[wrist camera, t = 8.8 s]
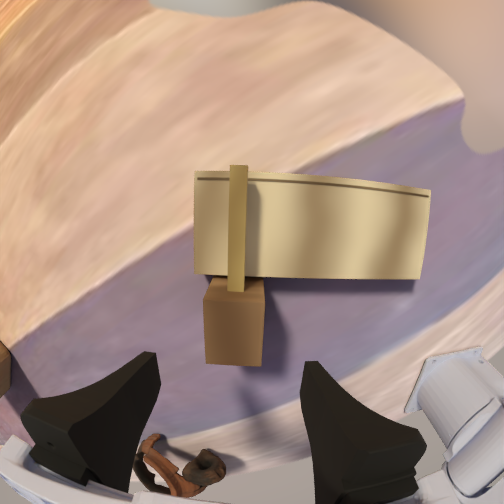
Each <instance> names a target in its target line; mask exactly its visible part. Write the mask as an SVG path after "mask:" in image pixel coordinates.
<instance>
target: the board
mask: <svg viewBox="0 0 504 504" xmlns="http://www.w3.org/2000/svg"><path fill="white" fill-rule="evenodd" d="M229 181H230V171H195V176H194V274H207V275H228V217H229ZM430 196H431V190H426V189H420V188H414V187H408V186H402V185H395V184H388V183H381V182H374V181H366V180H357V179H348V178H339V177H328V176H317V175H304V174H289V173H271V172H248V187H247V217H246V248H245V276H255V277H285V278H327V279H420V274H421V269H422V263H423V257H424V251H425V244H426V237H427V229H428V219H429V209H430Z"/></svg>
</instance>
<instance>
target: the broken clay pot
mask: <svg viewBox="0 0 504 504" xmlns="http://www.w3.org/2000/svg"><path fill="white" fill-rule="evenodd" d="M160 438H161V436H160V434H152V435H151V436H149V437H148V438H147V439H146V440H143V441H142V443H141V445H140V447H139V449H138V453H137V454H136V455H135V459H134V463H133V470H134V472H135V473H136V475H137V477H138V478H139V480H140V481H141V482H142V483H143V484H144V486H145V487H146V488H147V489H148V490H150V491H151V492H158V493H162V494H167V495H172V496H178V497H184V498H188V497H193V496H196V495H197V494H199V493H201V492H202V491H204V490H205V488H206V487H207V486H208V485H211V484H213V483H216V482H219V481H220V480H222V479H223V478H224V477H225V475H226V466H225V464H224V463H223V461H222V460H221V459H220V458H219V457H218V456H214V455H213V453H211V452H210V451H208V450H206V449H202V450H201V452H200V454H199V455H198V456H197V457H196V458H195V459H193V460H192V461H191V462H189V463H188V464H187V465H186V466H185V468H184V469H183V471H182V475H183V476H181V475H179V474H178V473H177V472H178V470H179V468H178V467H176V466H175V465H173V464H172V463H171V462H170V461H169V460H168V459H167V458H164V457H163V456H162V455H161V454H160V453H159V452H158V451H156V450H155V449H153V446H154V444H155V443H156V442H157V441H158V440H159V439H160ZM144 454H146V455H145V456H144ZM143 458H144V461H145V462H146V463H147V464H149V465H150V466H151V467H153V468H154V469H155V470H156V471H157V472H158V473H159V474H160V476H161V477H162V478H163V479H164V480H165V481H166V483H167V485H168V486H169V488H167V487H164V486H162V485H157V484H155V481H154V477H155V474H154V473H151V472H150V471H149V470H148V469H147V467H146V465H145V463H144V462H143Z"/></svg>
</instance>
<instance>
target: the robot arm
mask: <svg viewBox="0 0 504 504" xmlns="http://www.w3.org/2000/svg"><path fill="white" fill-rule="evenodd" d="M482 350H483V348H482V347H481V346H479V347H475V348H471V349H467V350H463V351H458V352H453V353H448V354H443V355H438V356H433V357H429V358H427V359H426V361H425V363H424V366H423V368H422V371H421V374H420V376H419V378H418V381H417V383H416V386H415V388H414V390H413V392H412V395H411V397H410V399H409V401H408V403H407V405H406V408H405V410H404V411H405V413H410V412H414V411H418V410H422V409H423V411H424V413H425V414H426V416H427V417H428V419H429V420H430V422H431V423H432V425H433V427H434V428H435V430H436V432H437V433H438V435H439V436H440V438H441V440H442V442H443V443H444V445H445V447H446V448H447V450H446V451H445V452H444V453H443V456H444V458H445V459H446V461H445V462H444V463H443V466H442V470H439V471H437V472H434V473H432V474H429V475H426V476H424V477H422V478H420V479H418V480H417V481H416V480H415V478H414V476H415V475H416V471H415V468H414V466H415V465H416V464H417V463H418V461H419V460H420V459H421V457H422V456H423V454H424V453H425V451H426V447H427V445H426V443H425V441H424V439H423V437H422V435H421V434H420V432H419V431H418V429H416V428H412V427H409V426H405V425H402V424H399V423H397V422H394V421H392V420H390V419H387V418H385V417H383V416H381V415H379V414H377V413H376V412H374V411H372V410H370V409H369V408H367V407H366V406H364V405H363V404H361V403H360V402H359V401H357V400H356V399H355V398H353V397H352V396H351V395H350V394H349V393H347V392H346V391H345V390H344V389H343V388H342V387H341V386H340V385H339V384H338V383H337V382H336V381H335V380H334V379H333V378H332V377H331V376H330V374H329V373H328V372H327V371H326V370H325V369H324V368H323V367H322V365H321V364H320V363H319V362H318V361H305V365H304V371H303V377H302V383H301V388H300V400H301V409H302V413H303V418H304V422H305V426H306V430H307V434H308V438H309V442H310V446H311V452H312V461H313V472H314V485H315V504H460V503H461V504H504V477H503V478H502V479H501V480H500V481H499V482H497V483H496V484H495V485H494V486H492V487H488V488H486V487H487V486H488V485H489V484H490V483H492V482H493V481H494V480H495V479H496V478H497V477H498V476H499V475H500V474H502V473H503V472H504V377H503V375H502V374H501V373H499V372H498V371H497V370H496V369H495V368H494V367H493V366H492V365H491V364H490V363H489V362H488V361H487V360H486V359H485V358H484V357H482V356H481V353H482ZM160 387H161V380H160V375H159V369H158V363H157V357H156V353H153V352H146V351H144V352H143V353H141V354H140V355H138V356H137V357H135V358H134V359H133V360H131V361H130V362H128V363H127V364H126V365H124V366H123V367H121V368H120V369H118V370H117V371H115V372H113V373H112V374H110V375H109V376H107V377H105V378H104V379H102V380H100V381H98V382H96V383H94V384H92V385H89V386H87V387H85V388H82V389H79V390H76V391H74V392H71V393H67V394H63V395H59V396H54V397H48V398H39V399H33V400H32V401H31V403H30V404H29V405H28V406H27V407H26V409H25V410H24V411H23V412H22V413H21V421H22V423H23V425H24V427H25V429H26V430H27V432H28V433H29V435H30V436H31V438H32V439H33V441H34V442H35V446H34V447H33V448H32V447H31V446H30V445H29V444H28V443H26V442H25V441H23V440H21V439H20V438H18V437H16V436H15V435H12V436H11V437H10V438H9V440H8V441H7V442H6V444H5V445H4V446H3V448H2V449H1V450H0V476H1V477H2V478H3V479H4V480H5V482H7V484H8V485H9V486H10V487H12V488H13V489H14V490H15V491H16V492H17V493H18V494H19V495H21V496H22V497H24V498H25V499H27V500H28V501H30V502H31V503H33V504H229V503H223V502H214V501H205V500H197V499H190V498H184V497H178V496H172V495H167V494H162V493H158V492H151V491H140V492H135V493H134V495H132V494H129V493H128V490H129V483H130V477H131V472H132V467H133V463H134V459H135V455H136V451H137V447H138V444H139V440H140V437H141V435H142V432H143V430H144V428H145V425H146V423H147V421H148V419H149V416H150V414H151V412H152V410H153V407H154V405H155V403H156V401H157V397H158V394H159V390H160Z"/></svg>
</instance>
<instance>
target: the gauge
mask: <svg viewBox="0 0 504 504" xmlns="http://www.w3.org/2000/svg"><path fill="white" fill-rule="evenodd" d="M247 187H248V165H230V181H229V217H228V275H214V276H213V278H212V281H211V283H210V285H209V287H208V290H207V292H206V294H205V296H204V299H203V314H204V338H205V357H206V364H219V365H236V366H261V361H262V345H263V329H264V313H265V295H264V283H263V277H255V276H245V248H246V217H247Z"/></svg>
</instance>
